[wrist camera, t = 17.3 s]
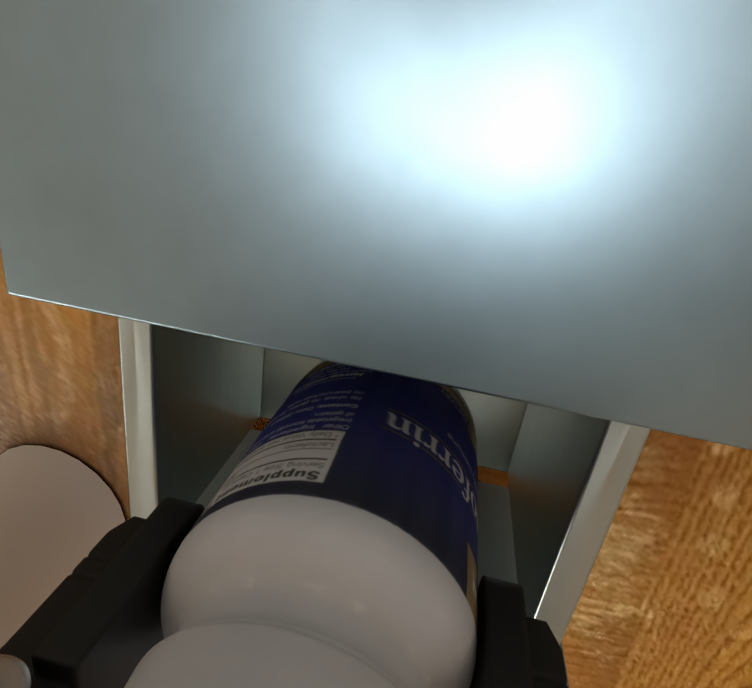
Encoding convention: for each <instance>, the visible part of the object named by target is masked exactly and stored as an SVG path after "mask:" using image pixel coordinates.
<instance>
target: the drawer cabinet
mask: <svg viewBox="0 0 752 688" xmlns="http://www.w3.org/2000/svg"><path fill="white" fill-rule="evenodd" d="M0 247H1V254H2V260H3V267H4V273H5V280H6V287H7V292H8V293H9V294H10V295H15V296H19V297H24V298H29V299H34V300H38V301H43V302H48V303H53V304H58V305H62V306H67V307H72V308H77V309H81V310H86V311H91V312H96V313H100V314H105V315H110V316H115V317H119V318H124V319H129V320H134V321H139V322H143V323H148V324H153V325H158V326H162V327H167V328H172V329H177V330H181V331H186V332H191V333H196V334H200V335H205V336H210V337H215V338H220V339H224V340H229V341H234V342H239V343H243V344H248V345H253V346H258V347H262V348H267V349H272V350H277V351H281V352H286V353H291V354H296V355H301V356H305V357H310V358H315V359H320V360H324V361H329V362H334V363H339V364H343V365H348V366H353V367H358V368H363V369H367V370H372V371H377V372H382V373H386V374H391V375H396V376H401V377H405V378H410V379H415V380H420V381H424V382H429V383H434V384H439V385H444V386H448V387H453V388H458V389H463V390H467V391H472V392H477V393H482V394H486V395H491V396H496V397H501V398H505V399H510V400H515V401H520V402H525V403H529V404H534V405H539V406H544V407H548V408H553V409H558V410H563V411H567V412H572V413H577V414H582V415H586V416H591V417H596V418H601V419H606V420H610V421H615V422H620V423H625V424H629V425H634V426H639V427H644V428H648V429H653V430H658V431H663V432H667V433H672V434H677V435H682V436H687V437H691V438H696V439H701V440H706V441H710V442H715V443H720V444H725V445H729V446H734V447H739V448H744V449H749V450H752V0H0Z"/></svg>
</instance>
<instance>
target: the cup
mask: <svg viewBox="0 0 752 688" xmlns="http://www.w3.org/2000/svg"><path fill="white" fill-rule="evenodd" d="M123 522H125V519H124V516H123V512H122V509H121V506H120V504H119V502H118V501H117V499H116V497H115V496H114V494H113V492H112V491H111V489H110V488H109V487H108V486H107V485H106V484H105V482H104V481H103V480H102V479H101V478H100V477H99V476H98V475H97V474H96V473H95V472H94V471H92V470H91V469H90V468H88V467H87V466H86V465H84V464H83V463H82V462H81V461H79V460H77V459H75V458H73V457H71V456H69V455H67V454H65V453H63V452H61V451H58V450H55V449H51V448H48V447H44V446H34V445H22V446H18V447H14V448H10V449H8V450H6V451H5V452H4V453H2V454H1V455H0V649H1V648H2V647H3V646H4V645H5V644H6V643H7V642H8V641H9V639H10V638H11V637H12V636H13V635H14V634H15V633H16V632H17V631H18V630H19V629H20V627H21V626H22V625H23V624H24V623H25V622H26V621H27V620H28V619H29V618H30V617H31V615H32V614H33V613H34V612H35V611H36V610H37V609H38V608H39V607H40V606H41V605H42V603H43V602H44V601H45V600H46V599H47V598H48V597H49V596H50V595H51V594H52V593H53V591H54V590H55V589H56V588H57V587H58V586H59V585H60V584H61V583H62V582H63V581H64V579H65V578H66V577H67V576H68V575H71V574H72V572H73V570H74V569H75V567H76V566H77V565H78V564H79V563H80V562H81V561H82V560H83V559H84V558H85V557H88V555H89V552H90V551H91V550H92V549H93V548H94V547H95V546H96V545H97V543H98V542H99V541H100V540H101V539H102V538H103V537H104V536H105V535H106V534H107V533H108V531H110V530H112V529H113V528H115V527H117V526H118V525H120V524H122V523H123Z"/></svg>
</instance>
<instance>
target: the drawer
mask: <svg viewBox="0 0 752 688" xmlns="http://www.w3.org/2000/svg"><path fill="white" fill-rule="evenodd" d="M118 330H119V346H120V362H121V378H122V394H123V410H124V426H125V442H126V458H127V474H128V490H129V506H130V518H132V517H133V516H136V517H140V518H144V519H147V518H148V516H149V515H150V514H151V513H152V512H153V511H154V509H155V508H156V507H157V506H158V505H159V504H160V502H161V501H162V500H163V499H165V498H166V497H173V498H177V499H181V500H185V501H189V502H193V503H197V504H201V505H203V506H204V508H205V509H206V508H207V506H208V505H209V503H210V502H211V501H212V499H213V498H214V496H215V495H216V494H217V492H218V491H219V490H220V488H221V487H222V486H223V484H224V483H225V481H226V480H227V479H228V477H229V476H230V475H231V473H232V472H233V470H234V469H235V468H236V466H237V465H238V464H239V462H240V461H241V459H242V458H243V457H244V455H245V454H246V453H247V451H248V450H249V448H250V447H251V446H252V444H253V443H254V442H255V440H256V439H257V437H258V436H259V435H260V433H261V432H262V431H259V430H254V429H251V428H252V427H253V426H254V424H255V423H256V422H257V420H258V419H259V418H260V417H264V418H268V419H271V418H272V417H273V415H274V414H275V413H276V411H277V410H278V409H279V407H280V406H281V405H282V403H283V402H284V401H285V399H286V398H287V396H288V395H289V394H290V392H291V391H292V390H293V388H294V387H295V386H296V385H297V384H298V382H299V381H300V380H301V379H302V378H303V377H304V376H305V375H306V374H307V373H308V372H309V371H310V370H311V369H312V368H314V367H315V366H316V365H318V364H319V363H321V362H322V361H324V360H320V359H315V358H310V357H305V356H301V355H296V354H291V353H286V352H281V351H277V350H272V349H267V348H262V347H258V346H253V345H248V344H243V343H239V342H234V341H229V340H224V339H220V338H215V337H210V336H205V335H200V334H196V333H191V332H186V331H181V330H177V329H172V328H167V327H162V326H158V325H153V324H148V323H143V322H139V321H134V320H129V319H124V318H119V317H118ZM456 389H457V390H458V391H459V392H460V394H461V395H462V397H463V398H464V400H465V402H466V404H467V405H468V407H469V409H470V412H471V415H472V417H473V420H474V424H475V430H476V438H477V466H482V467H486V468H491V469H495V470H500V471H504V472H507V477H508V487H504V486H500V485H496V484H491V483H487V482H482V481H478V486H477V510H478V532H477V538H478V552H477V553H478V586H479V583H480V580H481V577H482V576H483V575H484V576H488V577H492V578H496V579H500V580H504V581H508V582H513V583H517V584H521V585H522V588H523V592H524V602H525V611H526V617H530V618H534V619H538V620H542V621H546V622H547V623H548V625H549V627H550V629H551V631H552V633H553V634H554V636H555V638H556V640H557V642H558V644H559V645H560V647H561V649H562V653H563V648H562V642H561V641H562V639H563V636H564V634H565V631H566V629H567V627H568V624H569V622H570V620H571V617H572V615H573V612H574V610H575V608H576V605H577V603H578V601H579V598H580V596H581V594H582V591H583V589H584V586H585V584H586V582H587V579H588V577H589V575H590V572H591V570H592V567H593V565H594V563H595V560H596V558H597V556H598V553H599V551H600V548H601V546H602V544H603V541H604V539H605V537H606V534H607V532H608V530H609V527H610V525H611V522H612V520H613V518H614V515H615V513H616V511H617V508H618V506H619V503H620V501H621V499H622V496H623V494H624V492H625V489H626V487H627V485H628V482H629V480H630V477H631V475H632V473H633V470H634V468H635V466H636V463H637V461H638V458H639V456H640V454H641V451H642V449H643V447H644V444H645V442H646V440H647V437H648V435H649V432H650V430H651V429H648V428H644V427H639V426H634V425H629V424H625V423H620V422H615V421H610V420H606V419H601V418H596V417H591V416H586V415H582V414H577V413H572V412H567V411H563V410H558V409H553V408H548V407H544V406H539V405H534V404H529V403H525V402H520V401H515V400H510V399H505V398H501V397H496V396H491V395H486V394H482V393H477V392H472V391H467V390H463V389H458V388H456ZM563 659H564V654H563ZM564 665H565V660H564ZM565 671H566V666H565ZM566 677H567V672H566ZM567 686H568V688H569V683H568V677H567Z"/></svg>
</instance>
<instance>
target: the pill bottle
mask: <svg viewBox="0 0 752 688" xmlns="http://www.w3.org/2000/svg"><path fill="white" fill-rule="evenodd" d="M477 486H478V477H477V438H476V430H475V424H474V420H473V417H472V415H471V412H470V409H469V407H468V405H467V404H466V402H465V400H464V398H463V397H462V395H461V394H460V392H459V391H458V390H457V389H456V388H453V387H448V386H444V385H439V384H434V383H429V382H424V381H420V380H415V379H410V378H405V377H401V376H396V375H391V374H386V373H382V372H377V371H372V370H367V369H363V368H358V367H353V366H348V365H343V364H339V363H334V362H329V361H322V362H321V363H319V364H318V365H316V366H315V367H314V368H312V369H311V370H310V371H309V372H308V373H307V374H306V375H305V376H304V377H303V378H302V379H301V380H300V381H299V382H298V384H297V385H296V386H295V387H294V388H293V390H292V391H291V392H290V394H289V395H288V396H287V398H286V399H285V401H284V402H283V403H282V405H281V406H280V407H279V409H278V410H277V411H276V413H275V414H274V415H273V417H272V418H271V420H270V421H269V422H268V424H267V425H266V426H265V428H264V429H263V431H262V432H261V433H260V435H259V436H258V437H257V439H256V440H255V442H254V443H253V444H252V446H251V447H250V448H249V450H248V451H247V453H246V454H245V455H244V457H243V458H242V459H241V461H240V462H239V464H238V465H237V466H236V468H235V469H234V470H233V472H232V473H231V475H230V476H229V477H228V479H227V480H226V481H225V483H224V484H223V486H222V487H221V488H220V490H219V491H218V492H217V494H216V495H215V496H214V498H213V499H212V501H211V502H210V503H209V505H208V506H207V508H206V509H205V510H204V512H203V513H202V515H201V516H200V517H199V519H198V520H197V521H196V523H195V524H194V525H193V527H192V528H191V530H190V531H189V533H188V534H187V536H186V537H185V539H184V540H183V541H182V543H181V545H180V547H179V548H178V550H177V552H176V554H175V556H174V558H173V559H172V561H171V564H170V566H169V569H168V571H167V574H166V578H165V581H164V585H163V590H162V598H161V607H160V608H161V625H162V631H163V636H164V639H163V640H162V641H160V642H159V643H157V644H156V645H155V646H154V647H152V648H151V649H150V650H149V651H148V652H147V653H146V655H145V656H144V657H143V658H142V659H141V661H140V662H139V663H138V665H137V666H136V668H135V670H134V671H133V673H132V675H131V677H130V678H129V680H128V682H127V683H126V685H125V687H124V688H470V686H471V682H472V679H473V674H474V670H475V664H476V651H477V634H478V553H477V552H478V538H477V532H478V510H477Z"/></svg>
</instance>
